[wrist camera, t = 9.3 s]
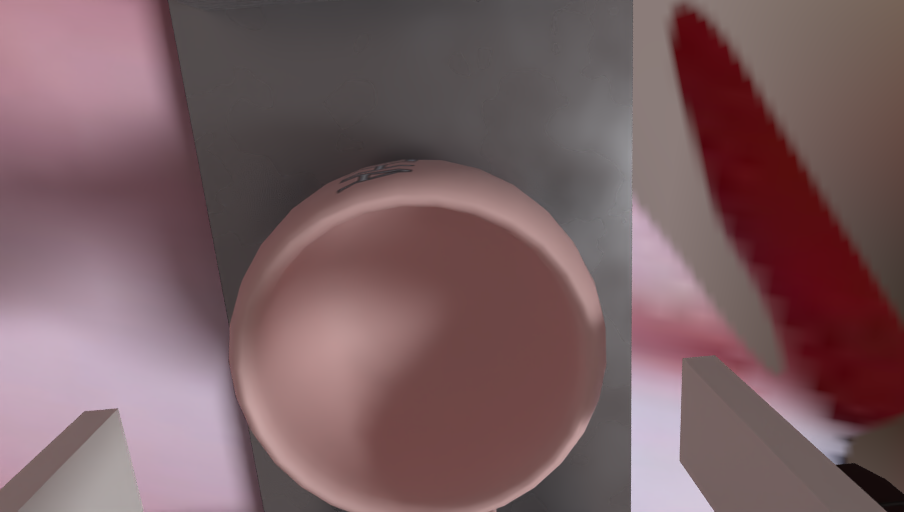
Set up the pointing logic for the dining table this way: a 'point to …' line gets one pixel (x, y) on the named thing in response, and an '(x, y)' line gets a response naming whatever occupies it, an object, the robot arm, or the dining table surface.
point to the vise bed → (427, 151)
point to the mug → (418, 341)
